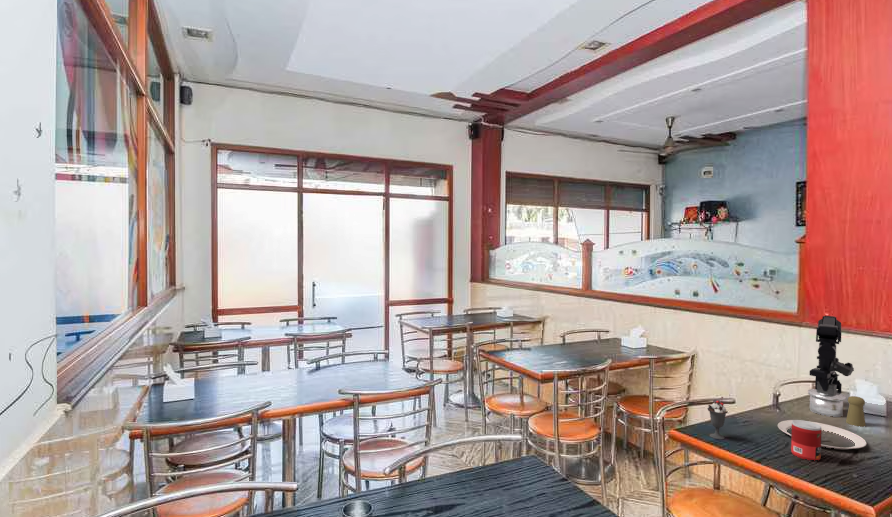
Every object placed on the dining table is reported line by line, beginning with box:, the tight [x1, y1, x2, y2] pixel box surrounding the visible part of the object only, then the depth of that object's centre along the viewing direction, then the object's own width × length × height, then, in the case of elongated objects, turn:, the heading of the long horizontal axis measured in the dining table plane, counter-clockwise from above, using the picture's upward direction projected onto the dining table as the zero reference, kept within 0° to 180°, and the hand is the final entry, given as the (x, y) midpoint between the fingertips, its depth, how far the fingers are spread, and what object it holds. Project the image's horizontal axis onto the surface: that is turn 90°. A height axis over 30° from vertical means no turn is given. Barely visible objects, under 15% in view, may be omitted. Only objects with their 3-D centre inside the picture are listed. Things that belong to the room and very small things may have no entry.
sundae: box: [707, 396, 729, 441], centre depth 169 cm, size 7×7×15 cm
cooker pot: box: [809, 395, 844, 418], centre depth 196 cm, size 11×11×7 cm
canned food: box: [790, 419, 823, 462], centre depth 154 cm, size 8×8×11 cm
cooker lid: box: [807, 382, 847, 402], centre depth 196 cm, size 13×13×6 cm
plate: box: [777, 419, 867, 450], centre depth 170 cm, size 26×26×2 cm
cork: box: [845, 395, 867, 428], centre depth 183 cm, size 6×6×11 cm
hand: (826, 390), depth 196 cm, fingers closed on cooker lid, 2 cm apart
